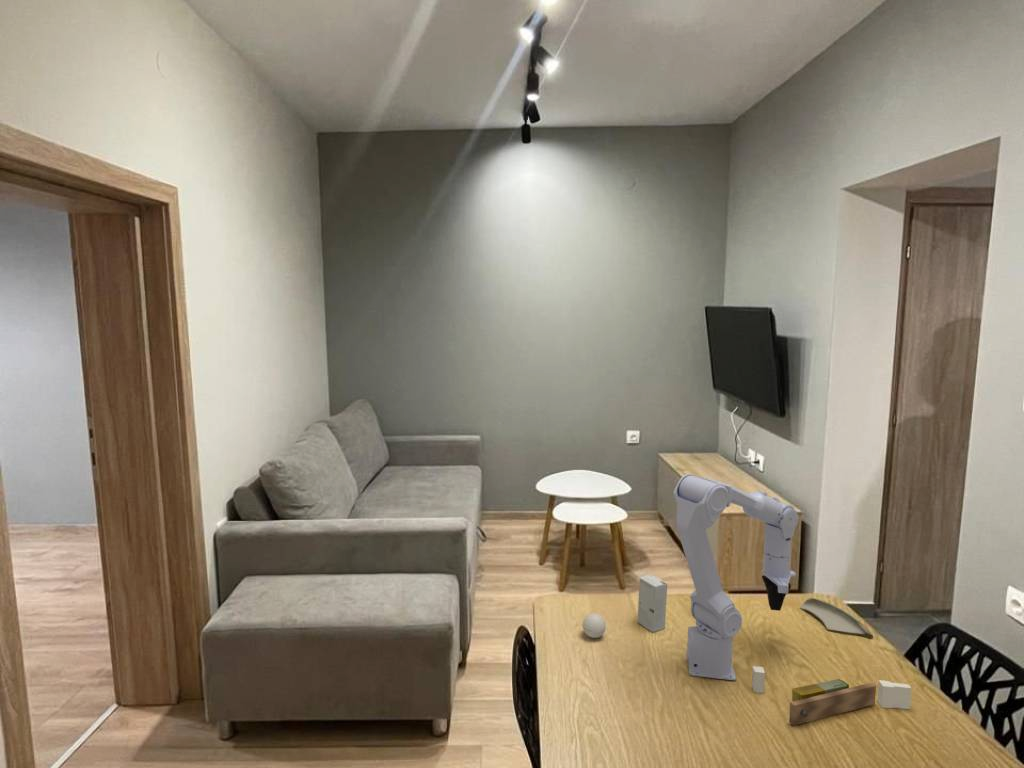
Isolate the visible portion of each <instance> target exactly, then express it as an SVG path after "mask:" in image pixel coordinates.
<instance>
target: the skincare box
mask: <svg viewBox="0 0 1024 768" xmlns="http://www.w3.org/2000/svg"><path fill="white" fill-rule="evenodd" d="M638 586H639V587H638V605H637V606H638V607H637V608H638V609H637V623H639V624H640V625H641V626H642V627H644V628H645V629H647V630H648V631H650V632H651V633H655V632H658V631H661V630H664V629H666V613H667V612H666V611H667V598H668V597H667V596H668V583H667V582H666V581H664V580H663V579H661V578H660V577H658V576H655V575H654V574H652V573H650V574H646V575H643V576H640V577H639V585H638Z"/></svg>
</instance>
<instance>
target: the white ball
mask: <svg viewBox="0 0 1024 768" xmlns="http://www.w3.org/2000/svg"><path fill="white" fill-rule="evenodd" d="M577 626H579V624H577V625H575V627H577ZM606 628H607V626H606V621H605V619H604V617H603V616H601V614H599V613H596V612H595V613H594V612H593V613H589V614H587V615H586V616H585V617H584V618H583V621H582V629H583V632H584V633H585V635H587V636H588V637H589V638H591V639H598V638H601V636H603V635H604V634H605V631H606Z"/></svg>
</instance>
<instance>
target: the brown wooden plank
mask: <svg viewBox="0 0 1024 768" xmlns="http://www.w3.org/2000/svg"><path fill="white" fill-rule="evenodd" d="M876 694H877V685H876V684H874V683H873V682H868V683H865V684H861V685H857V686H856V685H855V686H851V687H849V688H847V689H843V690H839V691H835V692H831V693H827V694H822V695H818V696H814V697H810V698H806V699H802V700H798V701H793V702H792V701H790V702H789V719H788V720H789V721H788V722H789V723H790V724H791V725H793V726H796V725H799V724H803V723H808V722H811V721H815V720H819V719H822V718H823V719H824V718H827V717H830V716H835V715H838V714H843V713H847V712H851V711H855V710H858V709H862V708H866V707H870V706H874V705H876V696H877V695H876Z"/></svg>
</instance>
